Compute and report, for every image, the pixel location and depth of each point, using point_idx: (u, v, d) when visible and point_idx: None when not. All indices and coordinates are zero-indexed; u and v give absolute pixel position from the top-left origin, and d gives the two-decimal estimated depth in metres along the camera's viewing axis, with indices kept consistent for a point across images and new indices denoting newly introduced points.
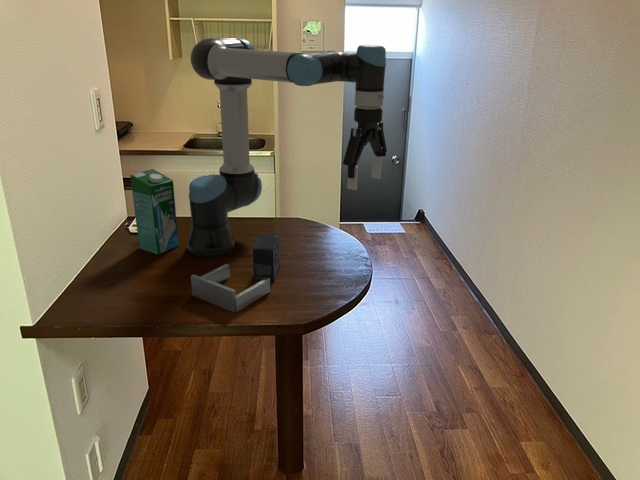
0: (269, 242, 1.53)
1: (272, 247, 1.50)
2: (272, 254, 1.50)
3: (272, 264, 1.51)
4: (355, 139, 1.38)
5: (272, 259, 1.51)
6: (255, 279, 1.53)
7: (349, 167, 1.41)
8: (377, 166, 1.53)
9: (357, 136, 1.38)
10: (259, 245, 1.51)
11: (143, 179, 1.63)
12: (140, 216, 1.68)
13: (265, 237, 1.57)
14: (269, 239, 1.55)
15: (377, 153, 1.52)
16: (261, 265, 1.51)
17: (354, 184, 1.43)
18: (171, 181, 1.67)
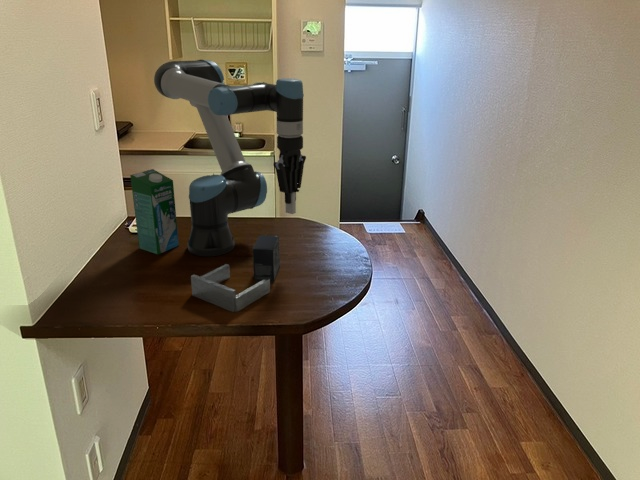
0: (269, 242, 1.53)
1: (272, 247, 1.50)
2: (272, 254, 1.50)
3: (272, 264, 1.51)
4: (281, 172, 1.51)
5: (272, 259, 1.51)
6: (255, 279, 1.53)
7: (286, 194, 1.57)
8: None
9: (281, 170, 1.50)
10: (259, 245, 1.51)
11: (143, 179, 1.63)
12: (140, 216, 1.68)
13: (265, 237, 1.57)
14: (269, 239, 1.55)
15: None
16: (261, 265, 1.51)
17: (291, 209, 1.59)
18: (171, 181, 1.67)
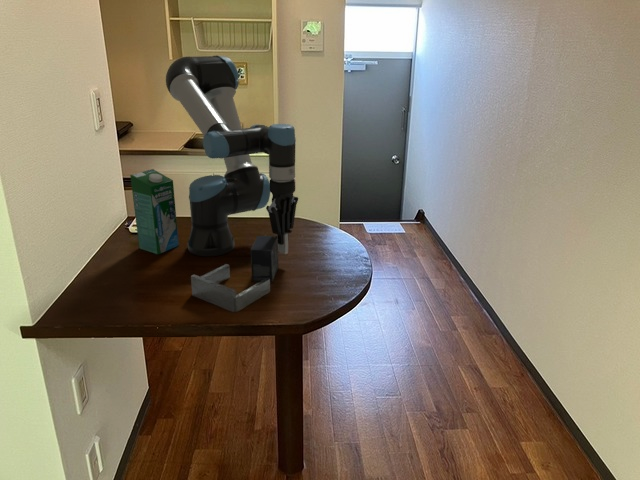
0: (267, 243, 1.53)
1: (270, 248, 1.49)
2: (270, 255, 1.49)
3: (270, 265, 1.50)
4: (273, 215, 1.53)
5: (270, 260, 1.50)
6: (253, 280, 1.53)
7: (278, 235, 1.59)
8: None
9: (274, 213, 1.52)
10: (257, 246, 1.51)
11: (143, 179, 1.63)
12: (140, 216, 1.68)
13: (263, 238, 1.56)
14: (267, 240, 1.55)
15: None
16: (259, 266, 1.51)
17: (284, 249, 1.61)
18: (171, 181, 1.67)
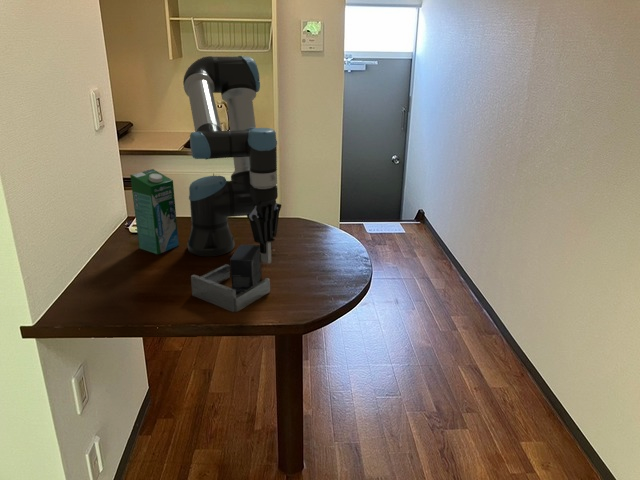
0: (248, 252, 1.46)
1: (250, 258, 1.43)
2: (250, 265, 1.43)
3: (250, 276, 1.44)
4: (255, 223, 1.46)
5: (250, 270, 1.43)
6: None
7: (261, 244, 1.52)
8: None
9: (255, 221, 1.46)
10: (237, 256, 1.44)
11: (143, 179, 1.63)
12: (140, 216, 1.68)
13: (245, 247, 1.50)
14: (249, 249, 1.48)
15: None
16: (239, 277, 1.44)
17: (267, 258, 1.54)
18: (171, 181, 1.67)
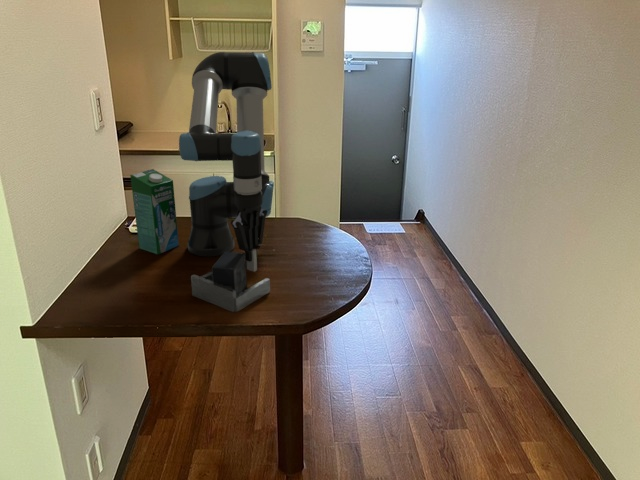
0: (231, 260, 1.41)
1: (233, 266, 1.38)
2: (233, 274, 1.38)
3: (233, 284, 1.39)
4: (239, 231, 1.42)
5: (233, 279, 1.38)
6: None
7: (246, 251, 1.47)
8: None
9: (239, 228, 1.41)
10: (220, 263, 1.39)
11: (143, 179, 1.63)
12: (140, 216, 1.68)
13: (229, 254, 1.45)
14: (233, 257, 1.43)
15: None
16: None
17: (252, 266, 1.50)
18: (171, 181, 1.67)
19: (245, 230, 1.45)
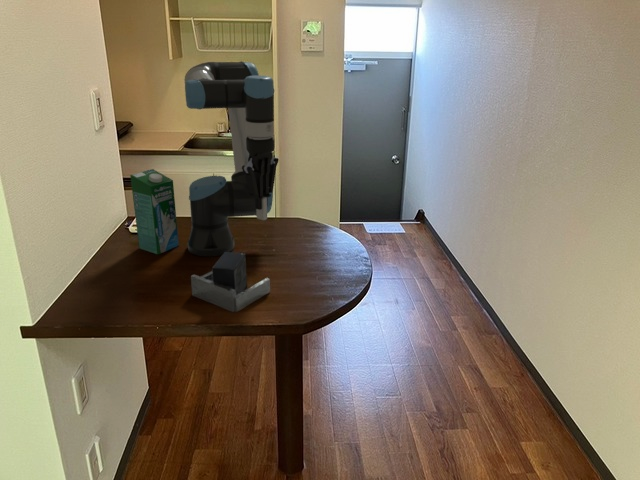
0: (232, 260, 1.41)
1: (233, 266, 1.38)
2: (233, 274, 1.38)
3: (233, 285, 1.39)
4: (250, 176, 1.41)
5: (233, 279, 1.38)
6: None
7: (256, 199, 1.47)
8: None
9: (250, 174, 1.40)
10: (220, 264, 1.39)
11: (143, 179, 1.63)
12: (140, 216, 1.68)
13: (230, 254, 1.45)
14: (233, 257, 1.43)
15: (262, 193, 1.48)
16: None
17: (262, 215, 1.49)
18: (171, 181, 1.67)
19: (256, 177, 1.44)
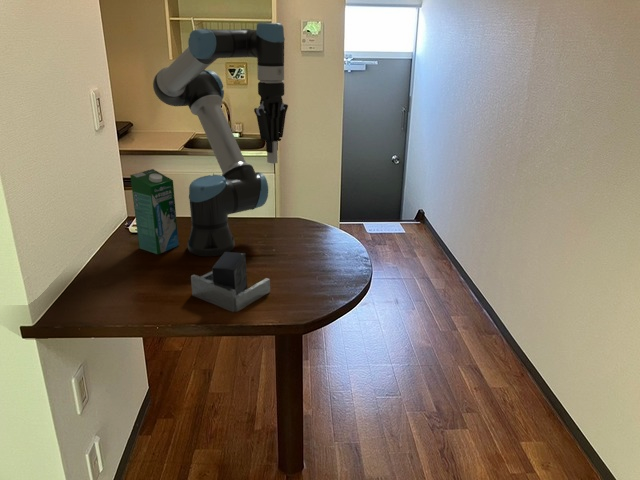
0: (232, 260, 1.41)
1: (233, 266, 1.38)
2: (233, 274, 1.38)
3: (233, 285, 1.39)
4: (261, 118, 1.50)
5: (233, 279, 1.38)
6: None
7: (267, 142, 1.55)
8: None
9: (262, 116, 1.49)
10: (220, 264, 1.39)
11: (143, 179, 1.63)
12: (140, 216, 1.68)
13: (230, 254, 1.45)
14: (233, 257, 1.43)
15: None
16: None
17: (273, 158, 1.57)
18: (171, 181, 1.67)
19: (267, 120, 1.53)
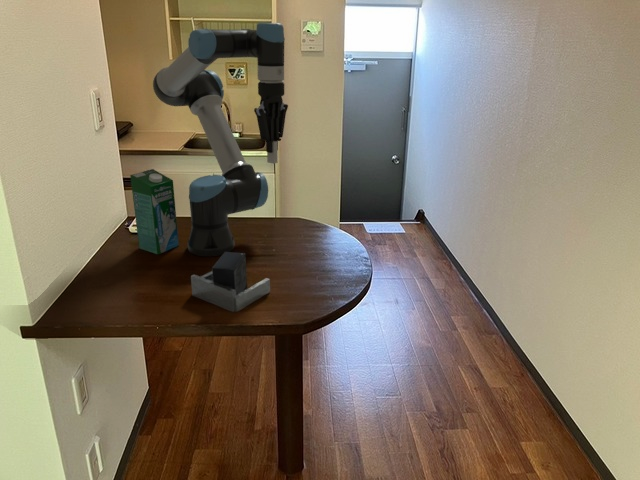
0: (232, 260, 1.41)
1: (233, 266, 1.38)
2: (233, 274, 1.38)
3: (233, 285, 1.39)
4: (261, 118, 1.50)
5: (233, 279, 1.38)
6: None
7: (267, 142, 1.55)
8: None
9: (262, 116, 1.49)
10: (220, 264, 1.39)
11: (143, 179, 1.63)
12: (140, 216, 1.68)
13: (230, 254, 1.45)
14: (233, 257, 1.43)
15: None
16: None
17: (273, 158, 1.58)
18: (171, 181, 1.67)
19: (267, 120, 1.53)
